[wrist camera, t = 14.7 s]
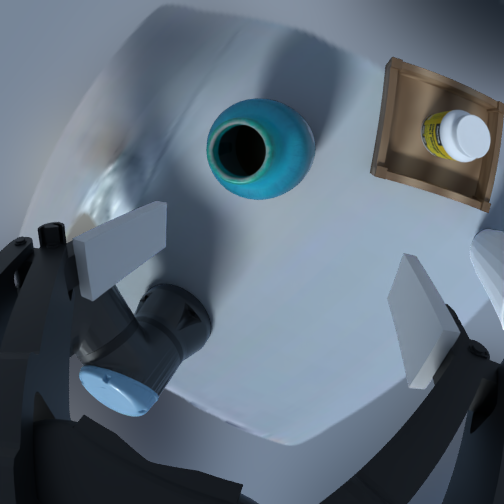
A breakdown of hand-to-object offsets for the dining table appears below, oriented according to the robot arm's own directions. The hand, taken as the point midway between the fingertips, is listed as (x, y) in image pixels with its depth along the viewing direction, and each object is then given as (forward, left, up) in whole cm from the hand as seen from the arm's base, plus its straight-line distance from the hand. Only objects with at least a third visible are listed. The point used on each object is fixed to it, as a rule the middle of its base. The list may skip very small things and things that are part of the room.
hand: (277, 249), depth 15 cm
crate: (+17, +11, -27) cm, 34 cm away
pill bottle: (+17, +11, -26) cm, 33 cm away
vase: (-5, +4, -27) cm, 28 cm away
